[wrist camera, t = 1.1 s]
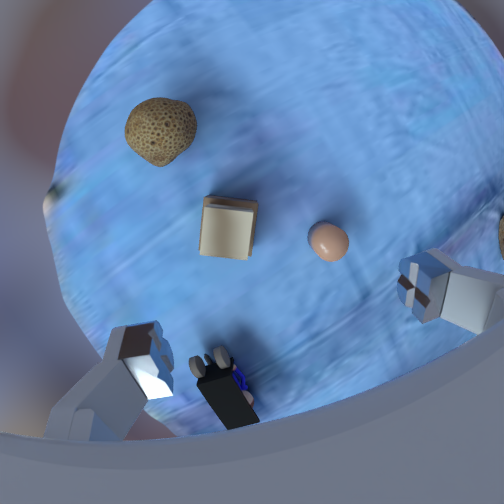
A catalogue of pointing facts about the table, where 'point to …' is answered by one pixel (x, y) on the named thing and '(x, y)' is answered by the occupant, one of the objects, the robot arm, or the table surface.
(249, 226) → the tower top
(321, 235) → the tan rounded cylinder
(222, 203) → the tower base
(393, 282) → the table surface
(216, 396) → the toy car
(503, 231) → the stone cup
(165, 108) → the natural sponge
